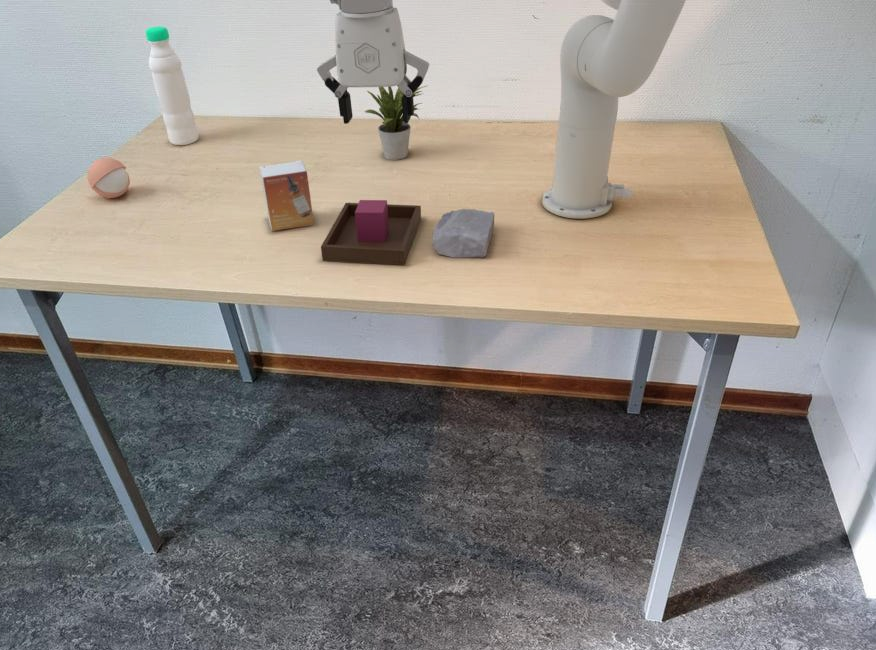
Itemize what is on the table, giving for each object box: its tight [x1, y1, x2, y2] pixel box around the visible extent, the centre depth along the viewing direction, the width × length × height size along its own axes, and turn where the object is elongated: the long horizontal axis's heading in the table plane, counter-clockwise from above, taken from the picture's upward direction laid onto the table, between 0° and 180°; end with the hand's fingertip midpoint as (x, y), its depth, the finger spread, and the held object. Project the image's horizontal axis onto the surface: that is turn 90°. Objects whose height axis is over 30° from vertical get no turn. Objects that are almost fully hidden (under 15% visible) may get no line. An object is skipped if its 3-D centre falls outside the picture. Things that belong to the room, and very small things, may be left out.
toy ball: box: [87, 157, 131, 199], centre depth 134 cm, size 8×8×8 cm
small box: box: [258, 159, 315, 232], centre depth 120 cm, size 8×6×10 cm
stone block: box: [432, 208, 495, 259], centre depth 114 cm, size 12×5×10 cm
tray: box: [320, 202, 422, 267], centre depth 116 cm, size 14×17×3 cm
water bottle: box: [145, 26, 200, 146], centre depth 152 cm, size 7×7×25 cm
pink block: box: [355, 199, 389, 242], centre depth 115 cm, size 5×5×6 cm
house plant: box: [364, 85, 429, 161], centre depth 140 cm, size 14×14×16 cm
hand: (377, 120), depth 105 cm, fingers open, 9 cm apart
